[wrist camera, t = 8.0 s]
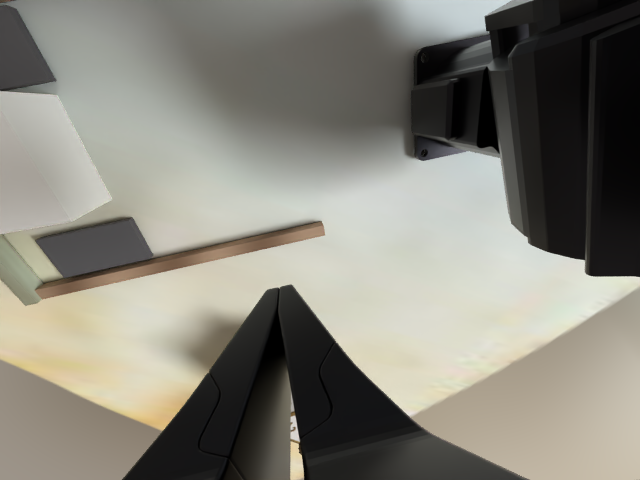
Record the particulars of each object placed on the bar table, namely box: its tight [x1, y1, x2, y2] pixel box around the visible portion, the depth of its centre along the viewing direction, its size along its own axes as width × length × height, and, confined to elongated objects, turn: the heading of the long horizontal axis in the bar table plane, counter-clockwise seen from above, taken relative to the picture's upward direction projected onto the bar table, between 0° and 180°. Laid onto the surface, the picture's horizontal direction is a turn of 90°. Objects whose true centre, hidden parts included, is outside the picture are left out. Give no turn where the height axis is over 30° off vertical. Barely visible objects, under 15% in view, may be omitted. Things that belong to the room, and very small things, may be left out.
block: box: [0, 91, 112, 234], centre depth 14 cm, size 6×6×4 cm
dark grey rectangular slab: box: [0, 5, 153, 278], centre depth 15 cm, size 6×14×1 cm, turn 10°
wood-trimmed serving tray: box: [0, 0, 325, 306], centre depth 15 cm, size 21×16×1 cm
